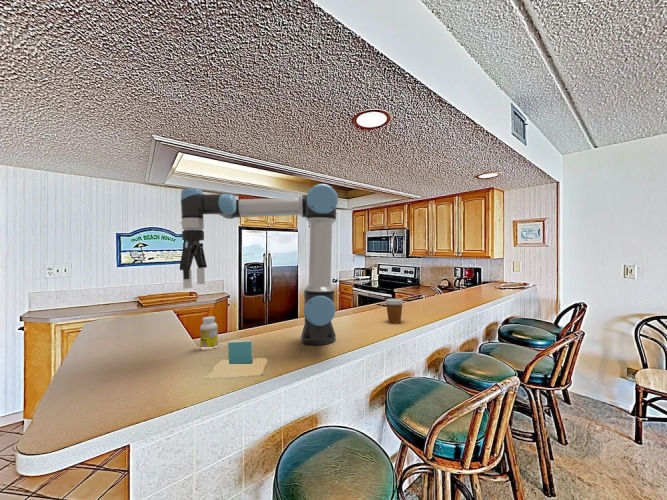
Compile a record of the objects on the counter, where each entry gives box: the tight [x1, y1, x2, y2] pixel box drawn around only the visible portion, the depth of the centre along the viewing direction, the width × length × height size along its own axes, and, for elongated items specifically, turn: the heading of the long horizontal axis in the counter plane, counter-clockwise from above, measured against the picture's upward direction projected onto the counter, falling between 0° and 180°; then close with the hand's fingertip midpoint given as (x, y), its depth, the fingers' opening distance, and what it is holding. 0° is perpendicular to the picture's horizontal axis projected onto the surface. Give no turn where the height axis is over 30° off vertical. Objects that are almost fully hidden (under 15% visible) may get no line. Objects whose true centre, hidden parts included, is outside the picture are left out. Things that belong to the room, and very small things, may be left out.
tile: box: [227, 339, 254, 364], centre depth 104 cm, size 8×2×8 cm, turn 95°
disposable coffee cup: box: [384, 298, 404, 324], centre depth 162 cm, size 10×10×12 cm
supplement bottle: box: [199, 315, 219, 348], centre depth 124 cm, size 7×7×13 cm
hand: (194, 286), depth 114 cm, fingers open, 13 cm apart
